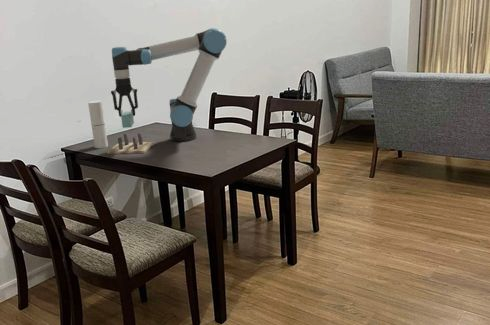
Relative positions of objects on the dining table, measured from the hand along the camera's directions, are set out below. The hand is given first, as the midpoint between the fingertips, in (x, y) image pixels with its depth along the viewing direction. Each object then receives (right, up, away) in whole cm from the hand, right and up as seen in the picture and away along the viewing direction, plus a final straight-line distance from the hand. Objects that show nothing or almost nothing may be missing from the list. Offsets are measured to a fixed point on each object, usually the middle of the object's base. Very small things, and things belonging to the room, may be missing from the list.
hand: (128, 122), depth 259 cm
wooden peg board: (+1, -14, +4) cm, 15 cm away
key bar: (0, -1, +1) cm, 2 cm away
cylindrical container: (-18, -13, +13) cm, 25 cm away
